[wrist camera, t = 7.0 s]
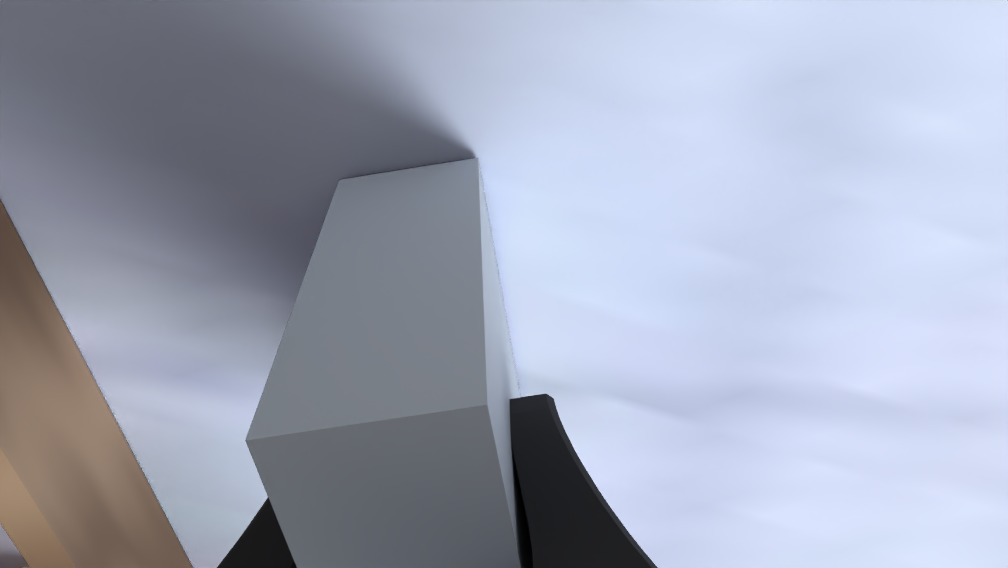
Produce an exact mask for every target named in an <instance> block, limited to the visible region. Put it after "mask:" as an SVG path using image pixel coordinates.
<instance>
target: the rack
mask: <svg viewBox="0 0 1008 568" xmlns="http://www.w3.org/2000/svg"><path fill="white" fill-rule="evenodd" d="M0 524H1V525H2V527H3V528H4V530H5V531H6V533H7V534H8V536H9V537H10V539H11V540H12V542H13V543H14V544H15V546H16V547H17V549H18V550H19V552H20V553H21V555H22V556H23V558H24V559H25V561H26V562H27V564H28V565H29V567H30V568H193V567H192V565H191V563H190V561H189V560H188V558H187V556H186V554H185V552H184V550H183V548H182V546H181V544H180V542H179V540H178V539H177V537H176V535H175V533H174V531H173V529H172V527H171V525H170V523H169V521H168V519H167V518H166V516H165V514H164V512H163V510H162V508H161V506H160V504H159V502H158V500H157V498H156V497H155V495H154V493H153V491H152V489H151V487H150V485H149V483H148V481H147V479H146V477H145V476H144V474H143V472H142V470H141V468H140V466H139V464H138V462H137V460H136V458H135V456H134V455H133V453H132V451H131V449H130V447H129V445H128V443H127V441H126V439H125V437H124V435H123V434H122V432H121V430H120V428H119V426H118V424H117V422H116V420H115V418H114V416H113V414H112V412H111V411H110V409H109V407H108V405H107V403H106V401H105V399H104V397H103V395H102V393H101V391H100V390H99V388H98V386H97V384H96V382H95V380H94V378H93V376H92V374H91V372H90V370H89V369H88V367H87V365H86V363H85V361H84V359H83V357H82V355H81V353H80V351H79V349H78V348H77V346H76V344H75V342H74V340H73V338H72V336H71V334H70V332H69V330H68V328H67V327H66V325H65V323H64V321H63V319H62V317H61V315H60V313H59V311H58V309H57V307H56V306H55V304H54V302H53V300H52V298H51V296H50V294H49V292H48V290H47V288H46V286H45V284H44V283H43V281H42V279H41V277H40V275H39V273H38V271H37V269H36V267H35V265H34V263H33V262H32V260H31V258H30V256H29V254H28V252H27V250H26V248H25V246H24V244H23V242H22V241H21V239H20V237H19V235H18V233H17V231H16V229H15V227H14V225H13V223H12V221H11V220H10V218H9V216H8V214H7V212H6V210H5V208H4V206H3V204H2V202H1V200H0Z"/></svg>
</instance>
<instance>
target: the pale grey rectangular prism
mask: <svg viewBox="0 0 1008 568" xmlns="http://www.w3.org/2000/svg"><path fill="white" fill-rule="evenodd" d="M520 397H521V395H520V390H519V384H518V379H517V373H516V367H515V362H514V356H513V350H512V345H511V339H510V334H509V328H508V322H507V317H506V311H505V306H504V300H503V294H502V289H501V283H500V278H499V272H498V266H497V261H496V255H495V249H494V244H493V238H492V233H491V227H490V221H489V216H488V210H487V205H486V199H485V193H484V188H483V182H482V177H481V171H480V165H479V160H478V158H473V159H466V160H460V161H454V162H448V163H441V164H435V165H429V166H423V167H416V168H410V169H404V170H397V171H391V172H385V173H379V174H372V175H366V176H360V177H354V178H347V179H341V180H339V182H338V184H337V187H336V190H335V193H334V195H333V198H332V201H331V204H330V207H329V209H328V212H327V215H326V218H325V220H324V223H323V226H322V229H321V232H320V234H319V237H318V240H317V243H316V245H315V248H314V251H313V254H312V257H311V259H310V262H309V265H308V268H307V270H306V273H305V276H304V279H303V282H302V284H301V287H300V290H299V293H298V295H297V298H296V301H295V304H294V307H293V309H292V312H291V315H290V318H289V320H288V323H287V326H286V329H285V332H284V334H283V337H282V340H281V343H280V346H279V348H278V351H277V354H276V357H275V359H274V362H273V365H272V368H271V371H270V373H269V376H268V379H267V382H266V384H265V387H264V390H263V393H262V396H261V398H260V401H259V404H258V407H257V409H256V412H255V415H254V418H253V421H252V423H251V426H250V429H249V432H248V434H247V437H246V440H245V441H246V443H247V446H248V448H249V451H250V453H251V455H252V458H253V460H254V463H255V465H256V468H257V470H258V473H259V475H260V478H261V480H262V483H263V485H264V488H265V490H266V493H267V495H268V497H269V500H270V502H271V505H272V507H273V510H274V512H275V515H276V517H277V520H278V522H279V525H280V527H281V530H282V532H283V535H284V537H285V539H286V542H287V544H288V547H289V549H290V552H291V554H292V557H293V559H294V562H295V564H296V567H297V568H533V556H532V547H531V542H530V537H529V531H528V526H527V521H526V516H525V511H524V506H523V501H522V496H521V490H520V485H519V480H518V475H517V470H516V465H515V460H514V455H513V450H512V444H511V432H510V399H514V398H520Z"/></svg>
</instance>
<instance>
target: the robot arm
mask: <svg viewBox="0 0 1008 568" xmlns="http://www.w3.org/2000/svg"><path fill="white" fill-rule="evenodd" d="M510 432H511V444H512V450H513V455H514V460H515V465H516V470H517V475H518V480H519V485H520V490H521V496H522V501H523V506H524V511H525V516H526V521H527V526H528V531H529V537H530V542H531V547H532V556H533V568H657V566H656V565H655V564H654V563H653V562H652V561H651V559H650V558H649V557H648V556H647V555H646V554H645V552H644V551H643V550H642V549H641V547H640V546H639V545H638V544H637V542H636V541H635V540H634V539H633V537H632V536H631V535H630V534H629V532H628V531H627V530H626V528H625V527H624V526H623V524H622V523H621V521H620V520H619V519H618V517H617V516H616V515H615V513H614V512H613V510H612V509H611V508H610V506H609V505H608V503H607V502H606V500H605V499H604V497H603V496H602V494H601V493H600V491H599V490H598V488H597V487H596V485H595V484H594V482H593V480H592V479H591V477H590V475H589V474H588V472H587V471H586V469H585V467H584V466H583V464H582V462H581V461H580V459H579V457H578V455H577V454H576V452H575V450H574V448H573V446H572V444H571V442H570V440H569V438H568V436H567V434H566V432H565V430H564V428H563V425H562V423H561V421H560V418H559V415H558V412H557V410H556V406H555V402H554V399H553V398H552V397H550V396H549V395H547V394H541V395H534V396H527V397H520V398H514V399H510ZM217 568H297V567H296V564H295V562H294V559H293V557H292V554H291V552H290V549H289V547H288V544H287V542H286V539H285V537H284V535H283V532H282V530H281V527H280V525H279V522H278V520H277V517H276V515H275V512H274V510H273V507H272V505H271V502H270V500H269V497H268V498H267V500H266V501H265V503H264V504H263V506H262V507H261V508H260V510H259V511H258V513H257V514H256V516H255V517H254V518H253V520H252V521H251V523H250V524H249V526H248V527H247V529H246V530H245V531H244V533H243V534H242V536H241V537H240V538H239V540H238V541H237V542H236V544H235V545H234V546H233V548H232V549H231V550H230V551H229V553H228V554H227V555H226V557H225V558H224V559H223V561H222V562H221V563H220V564H219V566H218V567H217Z"/></svg>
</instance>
